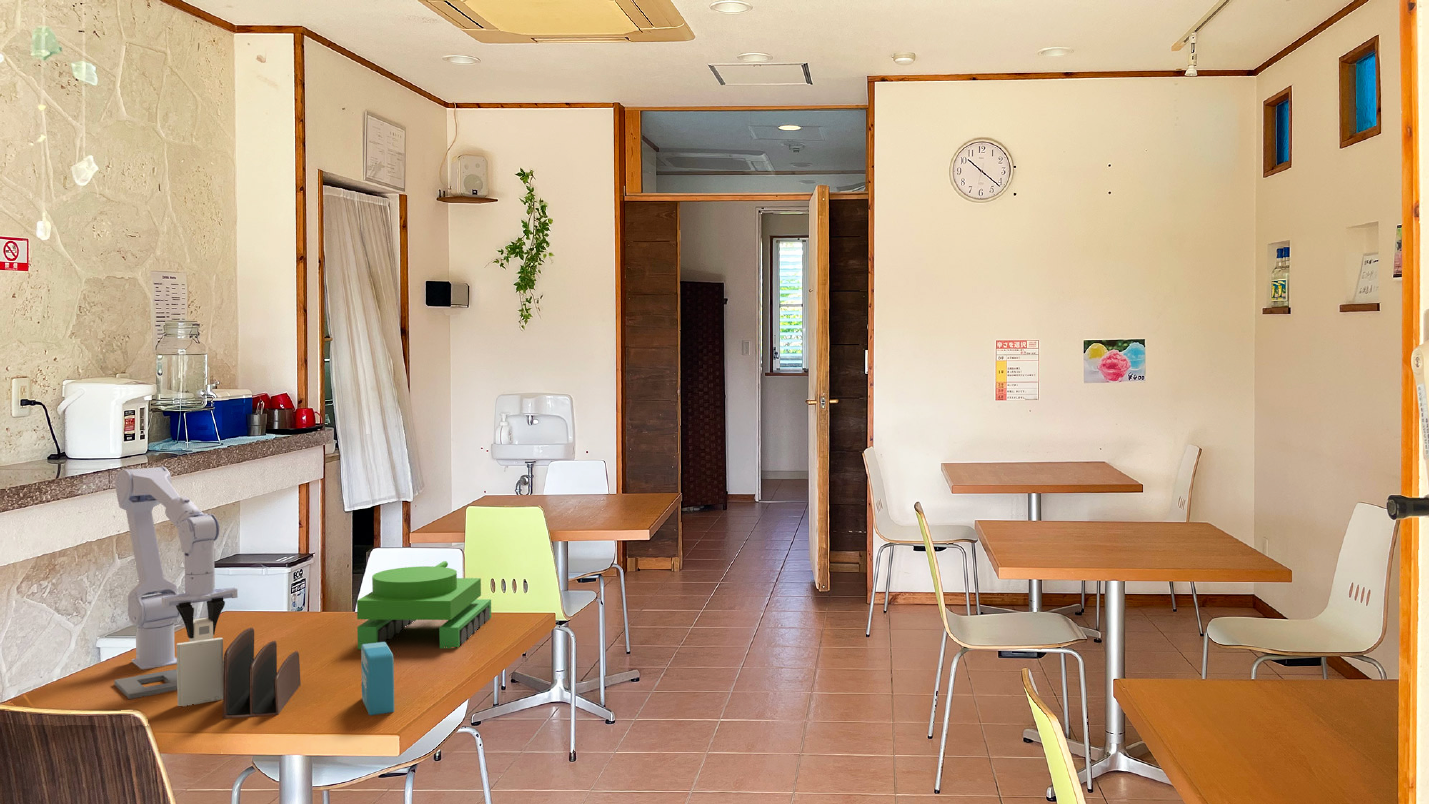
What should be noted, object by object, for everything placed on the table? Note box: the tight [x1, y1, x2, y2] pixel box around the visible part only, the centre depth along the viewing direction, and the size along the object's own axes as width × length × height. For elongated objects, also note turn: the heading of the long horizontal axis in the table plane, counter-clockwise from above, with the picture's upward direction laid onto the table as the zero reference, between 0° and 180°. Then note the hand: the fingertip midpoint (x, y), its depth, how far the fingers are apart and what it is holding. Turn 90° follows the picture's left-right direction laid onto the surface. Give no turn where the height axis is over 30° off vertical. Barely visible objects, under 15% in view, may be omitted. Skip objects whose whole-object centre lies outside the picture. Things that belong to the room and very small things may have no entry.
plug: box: [188, 617, 214, 642], centre depth 227 cm, size 7×4×5 cm, turn 40°
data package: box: [360, 641, 395, 716], centre depth 204 cm, size 12×4×12 cm, turn 25°
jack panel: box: [113, 660, 224, 700], centre depth 225 cm, size 13×24×1 cm, turn 131°
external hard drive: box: [176, 637, 224, 707], centre depth 209 cm, size 2×8×12 cm, turn 123°
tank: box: [356, 560, 492, 650], centre depth 263 cm, size 24×35×16 cm
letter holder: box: [222, 627, 301, 720], centre depth 209 cm, size 10×20×14 cm, turn 10°
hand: (201, 635), depth 227 cm, fingers closed on plug, 3 cm apart
